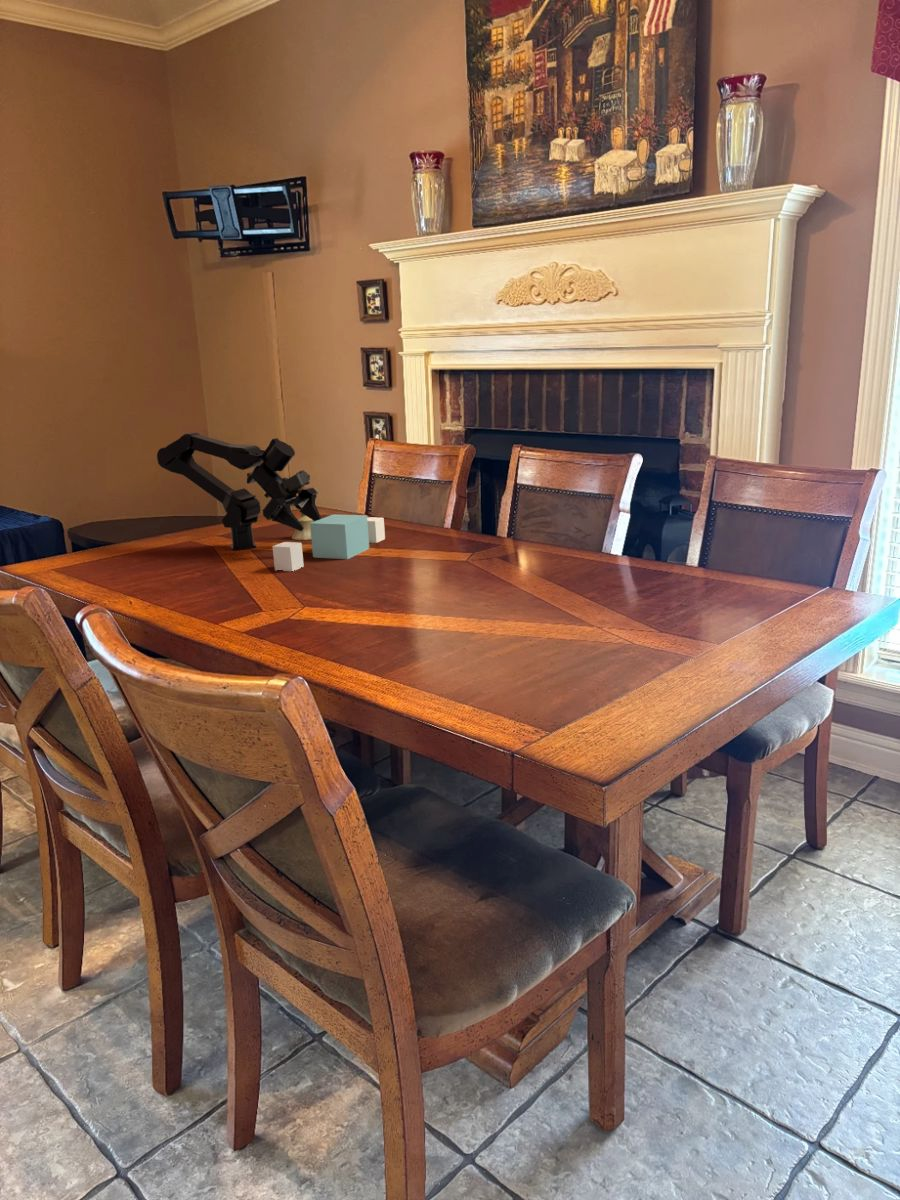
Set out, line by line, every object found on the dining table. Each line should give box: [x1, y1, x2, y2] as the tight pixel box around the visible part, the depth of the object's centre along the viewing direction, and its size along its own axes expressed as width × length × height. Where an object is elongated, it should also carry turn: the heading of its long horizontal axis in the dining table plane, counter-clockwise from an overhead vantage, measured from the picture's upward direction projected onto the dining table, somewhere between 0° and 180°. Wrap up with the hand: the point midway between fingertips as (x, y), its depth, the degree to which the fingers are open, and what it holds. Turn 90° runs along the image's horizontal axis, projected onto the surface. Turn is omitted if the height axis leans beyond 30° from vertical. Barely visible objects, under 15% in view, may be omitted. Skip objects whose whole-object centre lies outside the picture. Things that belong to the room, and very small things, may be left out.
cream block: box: [367, 516, 386, 544], centre depth 233 cm, size 5×5×6 cm
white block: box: [271, 541, 305, 572], centre depth 206 cm, size 5×5×6 cm
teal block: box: [310, 513, 370, 560], centre depth 219 cm, size 10×12×9 cm
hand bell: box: [291, 485, 314, 541], centre depth 239 cm, size 8×8×16 cm
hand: (312, 526), depth 222 cm, fingers open, 9 cm apart
